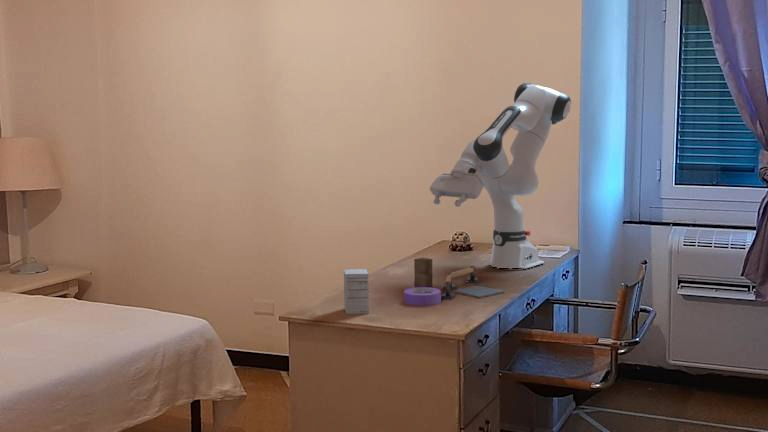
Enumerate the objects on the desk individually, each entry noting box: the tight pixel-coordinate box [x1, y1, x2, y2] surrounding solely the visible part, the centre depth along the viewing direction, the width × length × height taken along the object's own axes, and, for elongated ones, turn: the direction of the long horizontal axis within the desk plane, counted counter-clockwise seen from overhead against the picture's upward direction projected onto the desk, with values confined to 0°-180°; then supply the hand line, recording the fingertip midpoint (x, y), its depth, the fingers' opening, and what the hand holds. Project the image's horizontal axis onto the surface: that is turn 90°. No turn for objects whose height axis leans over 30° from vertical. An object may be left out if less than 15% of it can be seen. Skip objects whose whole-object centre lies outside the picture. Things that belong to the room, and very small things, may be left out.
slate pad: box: [453, 285, 505, 299], centre depth 305 cm, size 12×12×1 cm
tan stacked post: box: [413, 256, 433, 288], centre depth 314 cm, size 4×4×10 cm
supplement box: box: [343, 268, 370, 315], centre depth 279 cm, size 7×7×13 cm
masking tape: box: [403, 286, 442, 307], centre depth 292 cm, size 12×12×4 cm
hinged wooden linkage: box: [441, 265, 479, 300], centre depth 310 cm, size 32×8×6 cm, turn 158°
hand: (446, 204), depth 319 cm, fingers open, 8 cm apart
